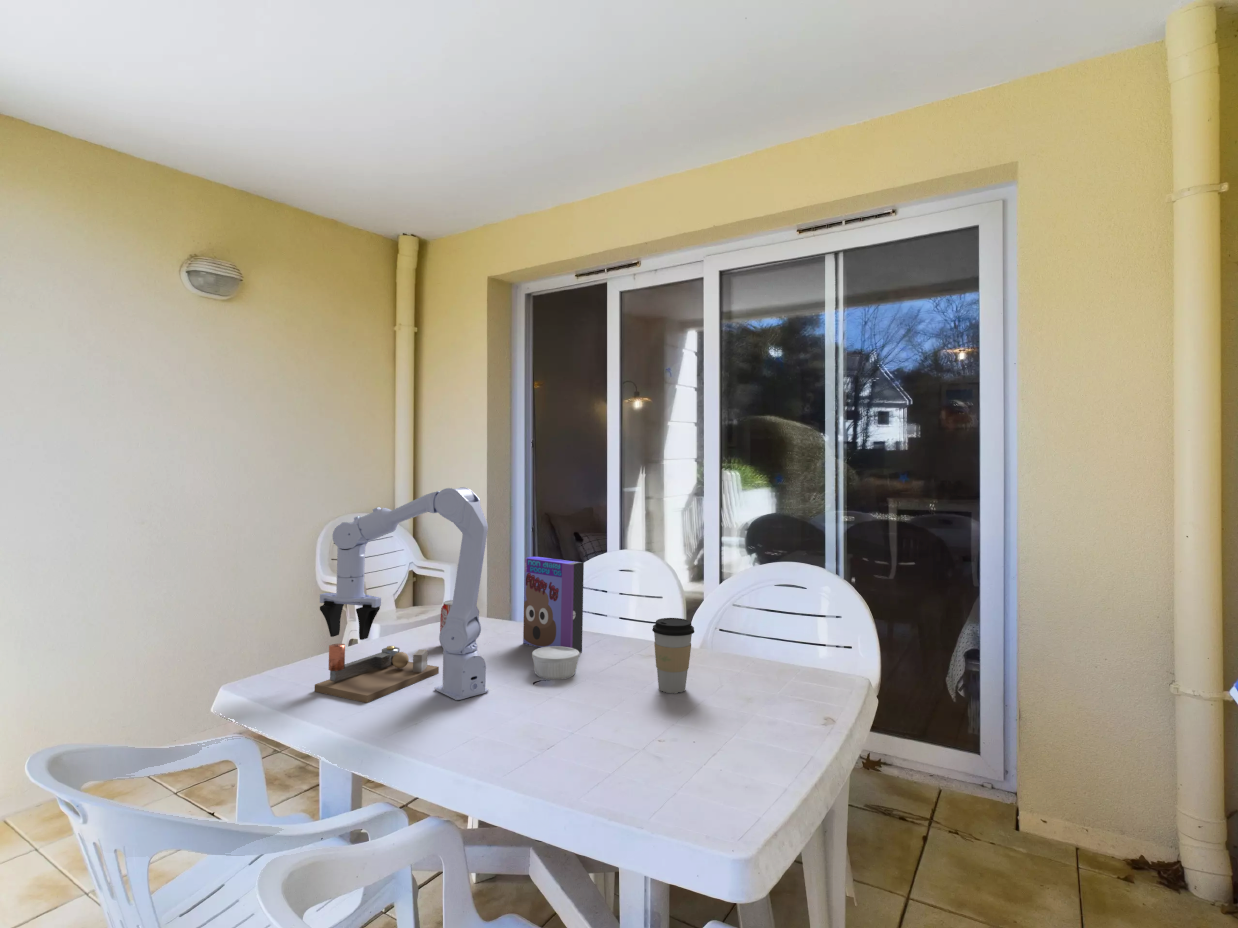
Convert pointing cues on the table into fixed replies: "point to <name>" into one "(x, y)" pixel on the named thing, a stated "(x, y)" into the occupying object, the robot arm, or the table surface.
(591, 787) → the table surface
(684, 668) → the coffee cup
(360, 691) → the board
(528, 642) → the cereal box
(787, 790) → the table surface
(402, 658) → the walnut
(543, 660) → the ramekin
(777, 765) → the table surface
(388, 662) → the lever
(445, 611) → the soda can
